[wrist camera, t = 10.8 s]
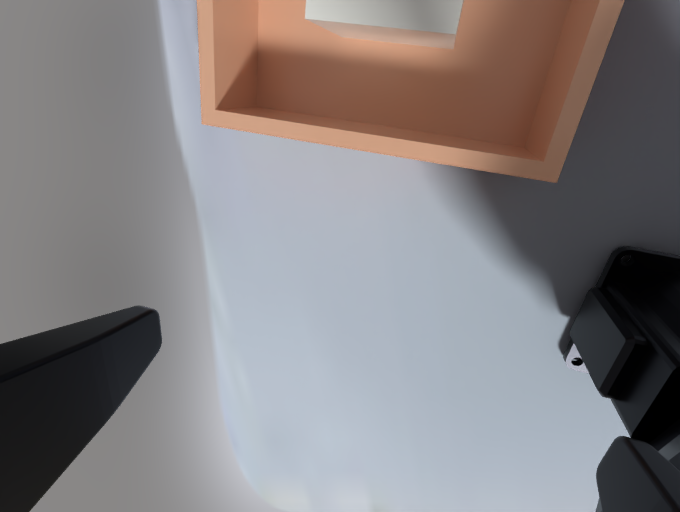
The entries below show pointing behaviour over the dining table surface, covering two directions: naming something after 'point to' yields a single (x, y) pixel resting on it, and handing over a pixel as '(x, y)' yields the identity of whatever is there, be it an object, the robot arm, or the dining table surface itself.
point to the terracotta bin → (410, 82)
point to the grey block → (390, 20)
